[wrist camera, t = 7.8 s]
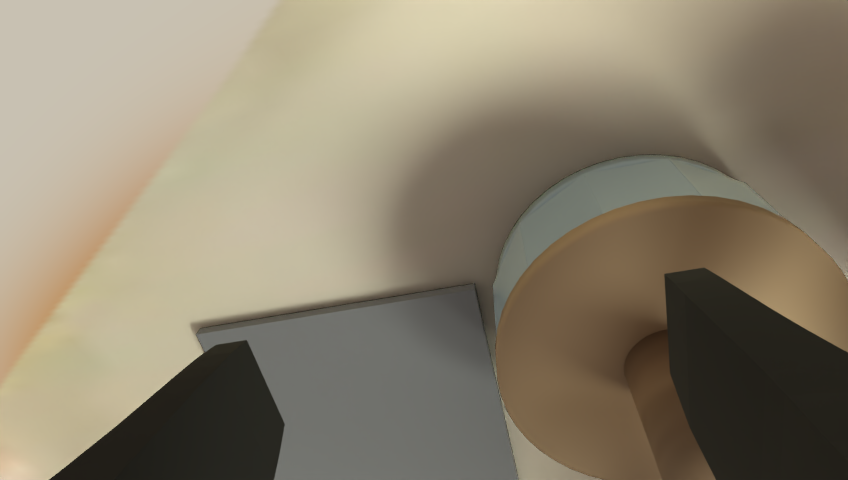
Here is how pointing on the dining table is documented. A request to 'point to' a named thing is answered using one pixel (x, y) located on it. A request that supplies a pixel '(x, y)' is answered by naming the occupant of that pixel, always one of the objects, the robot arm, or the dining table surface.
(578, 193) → the bowl
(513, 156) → the dining table surface
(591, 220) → the lid
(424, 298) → the mat
